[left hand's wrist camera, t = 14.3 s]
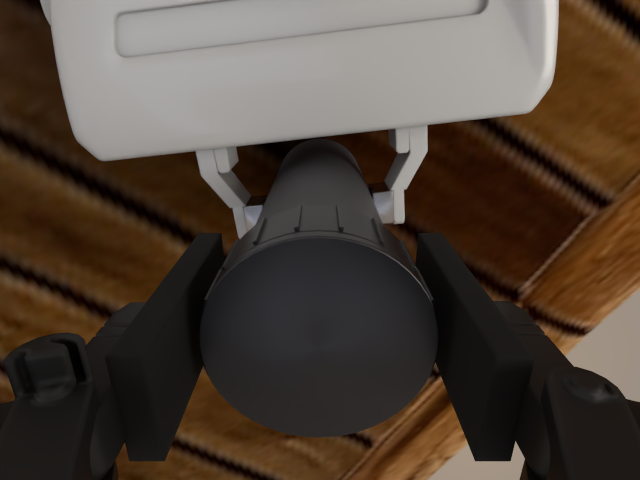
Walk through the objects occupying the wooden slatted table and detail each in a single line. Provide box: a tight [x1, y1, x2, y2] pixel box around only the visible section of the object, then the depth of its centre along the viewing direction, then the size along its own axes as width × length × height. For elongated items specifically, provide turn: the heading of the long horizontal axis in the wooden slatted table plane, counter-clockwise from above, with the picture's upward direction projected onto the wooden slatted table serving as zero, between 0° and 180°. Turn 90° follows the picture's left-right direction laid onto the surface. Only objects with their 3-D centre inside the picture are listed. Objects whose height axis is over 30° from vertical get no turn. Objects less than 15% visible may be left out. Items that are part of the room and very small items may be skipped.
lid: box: [199, 205, 439, 437], centre depth 11 cm, size 6×6×2 cm
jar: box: [256, 139, 383, 225], centre depth 18 cm, size 5×5×17 cm
